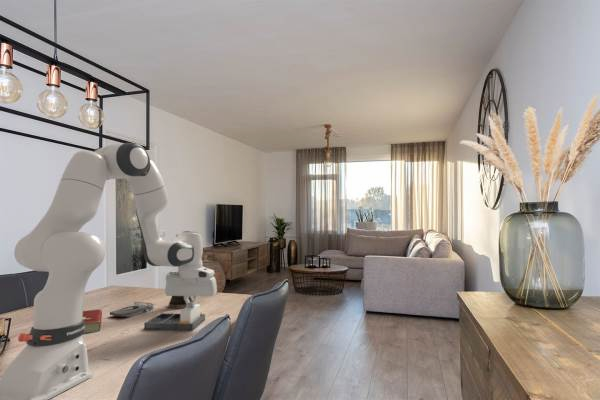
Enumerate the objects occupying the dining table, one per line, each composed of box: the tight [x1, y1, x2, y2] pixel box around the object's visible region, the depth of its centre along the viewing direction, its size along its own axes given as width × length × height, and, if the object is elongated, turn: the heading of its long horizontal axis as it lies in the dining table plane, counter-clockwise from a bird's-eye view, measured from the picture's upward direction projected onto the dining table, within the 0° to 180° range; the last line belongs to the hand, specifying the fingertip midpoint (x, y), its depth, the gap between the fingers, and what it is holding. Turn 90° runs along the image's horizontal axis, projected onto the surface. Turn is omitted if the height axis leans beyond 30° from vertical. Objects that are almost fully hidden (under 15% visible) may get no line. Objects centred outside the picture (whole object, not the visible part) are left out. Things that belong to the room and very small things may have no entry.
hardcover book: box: [83, 308, 103, 334], centre depth 139 cm, size 12×21×4 cm, turn 28°
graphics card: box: [109, 301, 155, 319], centre depth 156 cm, size 17×4×12 cm
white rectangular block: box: [179, 303, 201, 323], centre depth 138 cm, size 10×4×6 cm, turn 175°
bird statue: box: [168, 233, 194, 310], centre depth 171 cm, size 17×13×35 cm
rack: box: [143, 311, 206, 332], centre depth 139 cm, size 14×19×3 cm
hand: (190, 307), depth 139 cm, fingers closed, pressing on white rectangular block
